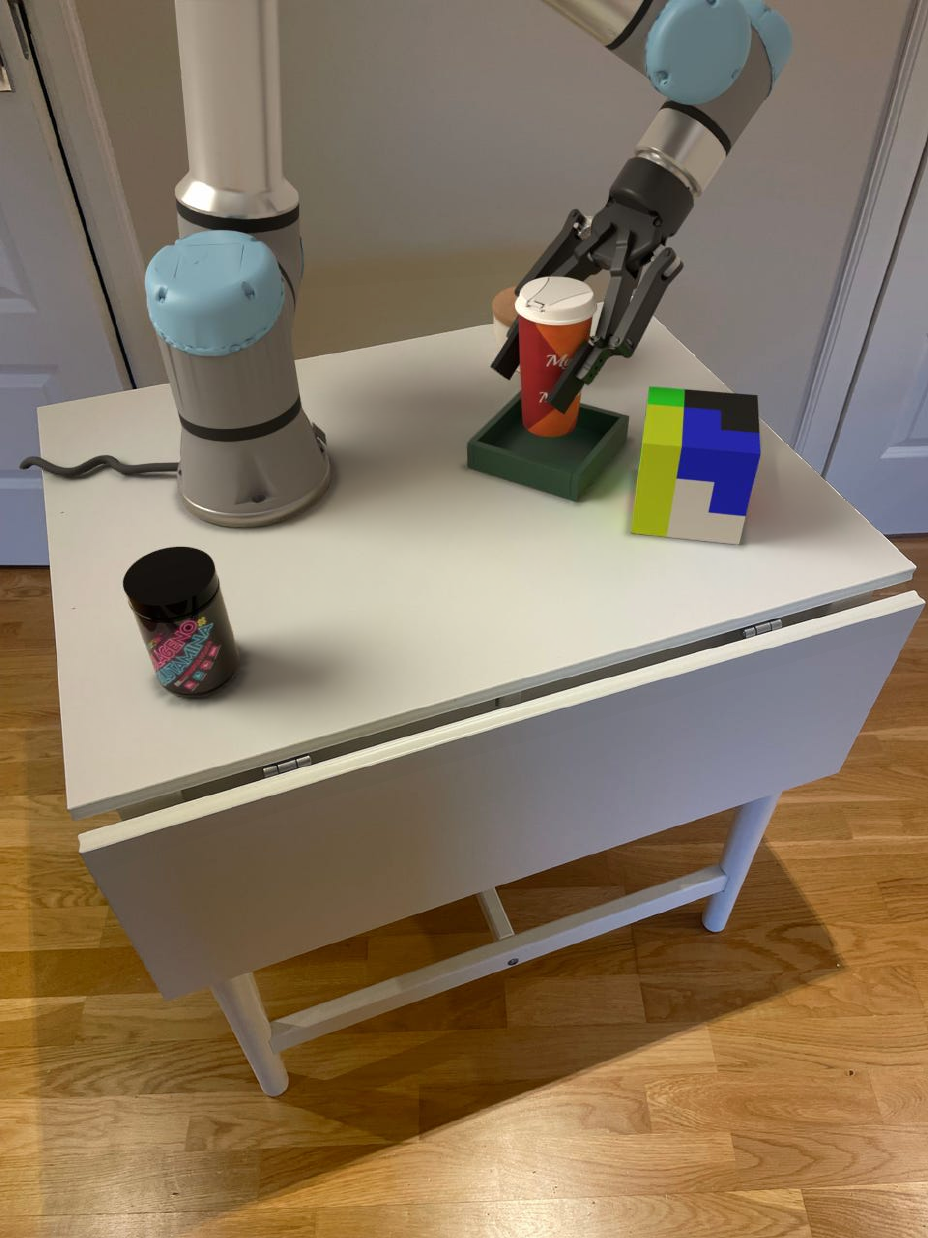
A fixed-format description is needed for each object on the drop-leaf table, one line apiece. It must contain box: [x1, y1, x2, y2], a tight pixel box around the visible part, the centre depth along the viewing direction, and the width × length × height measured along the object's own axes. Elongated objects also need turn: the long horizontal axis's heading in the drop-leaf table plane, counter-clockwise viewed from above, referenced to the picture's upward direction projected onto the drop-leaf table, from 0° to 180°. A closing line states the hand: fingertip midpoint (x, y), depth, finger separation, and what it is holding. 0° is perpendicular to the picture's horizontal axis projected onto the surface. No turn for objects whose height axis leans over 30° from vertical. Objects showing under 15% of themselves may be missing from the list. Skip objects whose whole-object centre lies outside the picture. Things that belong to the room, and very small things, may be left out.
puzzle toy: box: [630, 385, 762, 546], centre depth 86 cm, size 10×10×10 cm
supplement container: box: [122, 546, 241, 698], centre depth 71 cm, size 7×7×10 cm
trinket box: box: [491, 285, 520, 373], centre depth 107 cm, size 11×11×9 cm
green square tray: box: [466, 390, 630, 503], centre depth 95 cm, size 13×13×3 cm
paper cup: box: [515, 277, 599, 437], centre depth 89 cm, size 8×8×14 cm
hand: (526, 389), depth 89 cm, fingers closed on paper cup, 8 cm apart
